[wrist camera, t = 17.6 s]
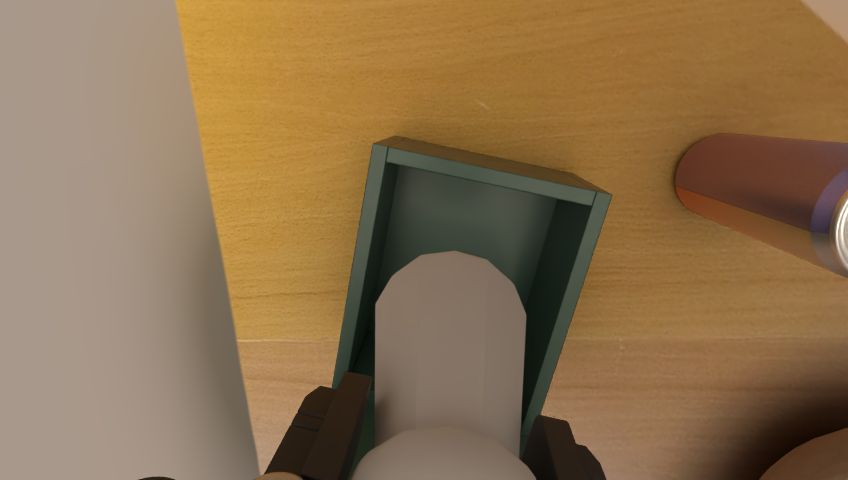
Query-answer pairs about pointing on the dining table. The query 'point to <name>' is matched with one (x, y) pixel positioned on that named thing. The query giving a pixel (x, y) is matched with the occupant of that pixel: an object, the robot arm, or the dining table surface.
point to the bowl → (814, 460)
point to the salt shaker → (448, 374)
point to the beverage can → (773, 192)
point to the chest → (474, 243)
